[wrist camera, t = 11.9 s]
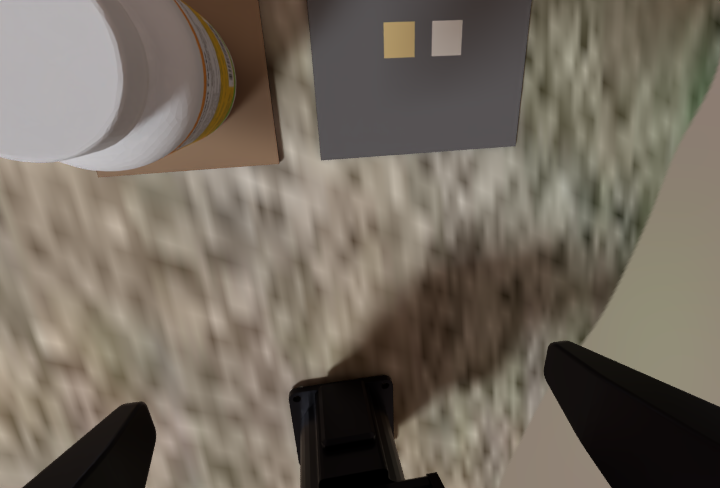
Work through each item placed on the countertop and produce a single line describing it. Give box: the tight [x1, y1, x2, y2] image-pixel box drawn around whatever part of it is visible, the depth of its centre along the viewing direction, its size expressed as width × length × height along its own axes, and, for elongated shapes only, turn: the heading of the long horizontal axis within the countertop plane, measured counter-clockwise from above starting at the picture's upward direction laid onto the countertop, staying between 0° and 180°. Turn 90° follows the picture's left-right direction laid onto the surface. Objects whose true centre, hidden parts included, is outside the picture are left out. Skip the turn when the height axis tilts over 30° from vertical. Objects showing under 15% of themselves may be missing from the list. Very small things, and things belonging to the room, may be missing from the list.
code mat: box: [307, 0, 532, 160], centre depth 17 cm, size 10×10×1 cm
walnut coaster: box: [96, 0, 279, 177], centre depth 16 cm, size 8×8×1 cm
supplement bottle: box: [0, 0, 236, 171], centre depth 11 cm, size 5×5×10 cm
